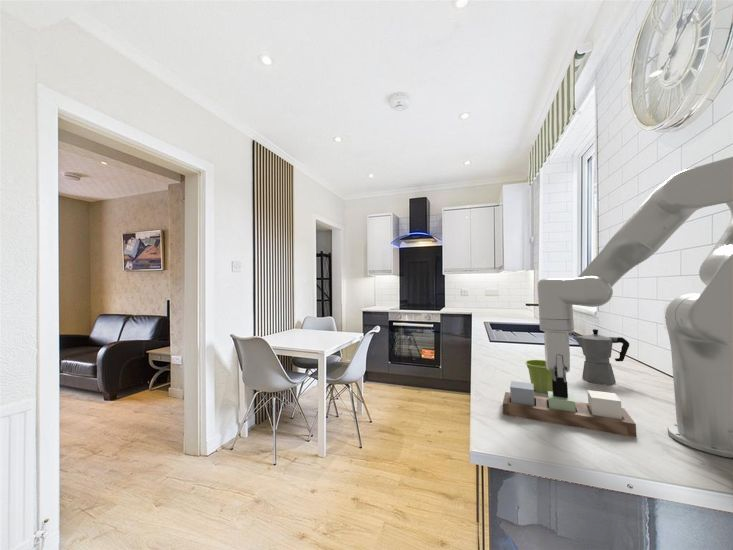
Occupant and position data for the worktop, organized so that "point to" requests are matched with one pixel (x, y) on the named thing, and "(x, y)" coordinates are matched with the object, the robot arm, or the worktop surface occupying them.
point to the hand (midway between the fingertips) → (560, 395)
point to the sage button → (561, 402)
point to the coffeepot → (599, 356)
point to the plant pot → (540, 375)
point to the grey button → (522, 393)
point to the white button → (604, 404)
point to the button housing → (570, 416)
